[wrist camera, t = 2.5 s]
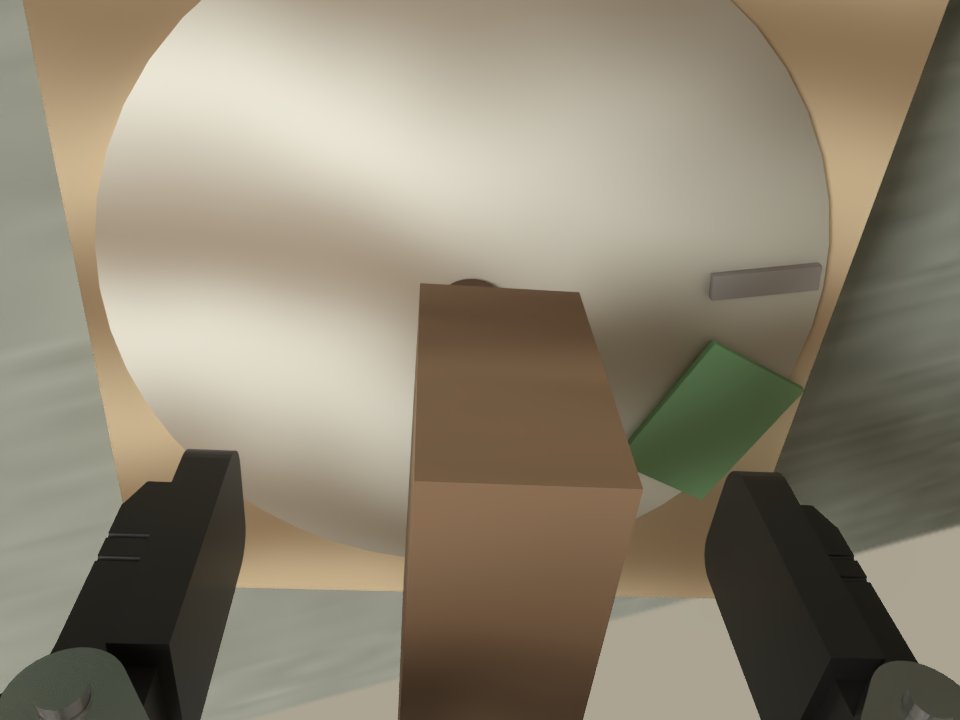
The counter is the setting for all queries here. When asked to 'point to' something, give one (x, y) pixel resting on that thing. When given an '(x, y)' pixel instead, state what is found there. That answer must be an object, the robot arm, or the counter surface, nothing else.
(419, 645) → the key
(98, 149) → the dial board
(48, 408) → the counter surface
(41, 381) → the counter surface
